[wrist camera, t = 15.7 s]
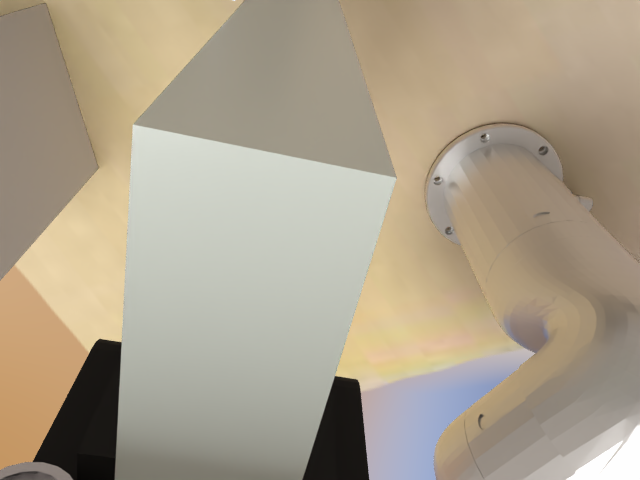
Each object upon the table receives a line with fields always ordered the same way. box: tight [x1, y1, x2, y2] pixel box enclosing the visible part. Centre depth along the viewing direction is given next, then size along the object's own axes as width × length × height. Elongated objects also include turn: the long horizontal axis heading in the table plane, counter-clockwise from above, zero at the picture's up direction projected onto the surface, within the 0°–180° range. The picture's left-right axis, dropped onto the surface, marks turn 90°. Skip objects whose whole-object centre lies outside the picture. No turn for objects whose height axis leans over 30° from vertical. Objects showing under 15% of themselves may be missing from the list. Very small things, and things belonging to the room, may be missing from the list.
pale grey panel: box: [115, 0, 397, 480], centre depth 16 cm, size 2×12×20 cm, turn 168°
